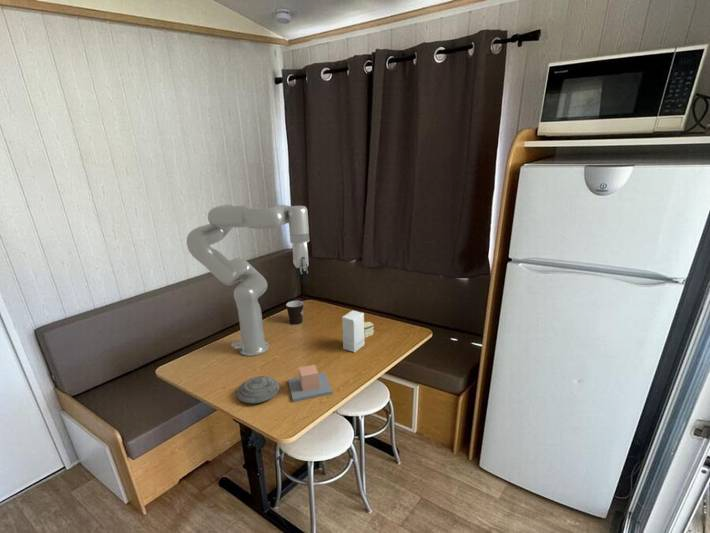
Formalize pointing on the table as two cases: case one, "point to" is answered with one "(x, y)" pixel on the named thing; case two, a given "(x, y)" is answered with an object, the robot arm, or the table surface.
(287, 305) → the coffee mug
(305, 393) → the slate mat
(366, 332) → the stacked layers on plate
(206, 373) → the table surface
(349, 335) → the skincare box
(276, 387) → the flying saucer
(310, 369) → the terracotta cube
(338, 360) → the table surface
